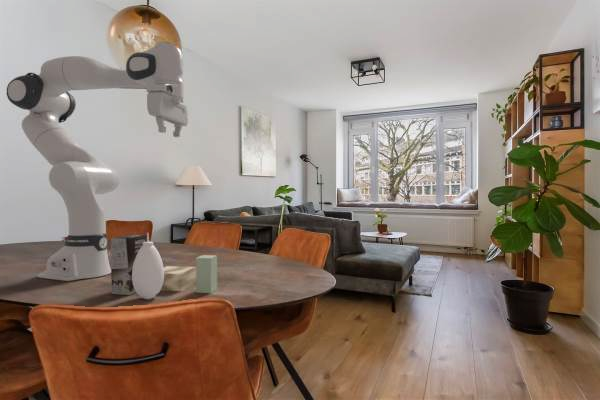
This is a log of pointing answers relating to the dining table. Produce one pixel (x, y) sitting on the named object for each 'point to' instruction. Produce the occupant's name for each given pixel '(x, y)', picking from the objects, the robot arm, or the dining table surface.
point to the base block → (178, 278)
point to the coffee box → (124, 262)
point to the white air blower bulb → (148, 271)
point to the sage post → (206, 273)
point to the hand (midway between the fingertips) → (169, 134)
